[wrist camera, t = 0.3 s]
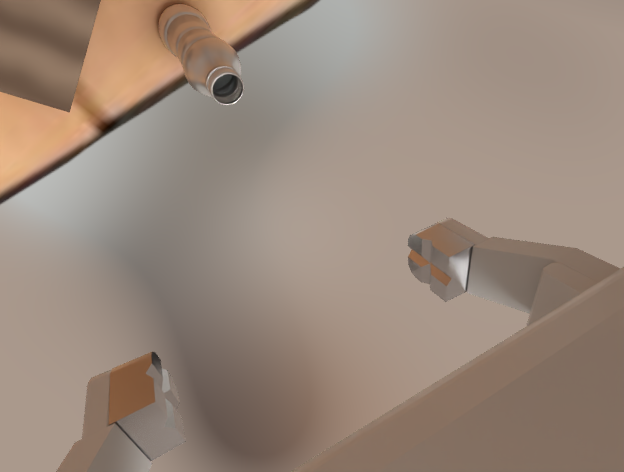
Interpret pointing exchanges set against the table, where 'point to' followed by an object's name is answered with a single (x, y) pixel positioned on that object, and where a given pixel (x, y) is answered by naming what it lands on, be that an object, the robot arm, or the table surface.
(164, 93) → the table surface
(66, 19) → the board
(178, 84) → the table surface
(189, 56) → the plastic bottle
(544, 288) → the robot arm
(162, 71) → the table surface
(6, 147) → the table surface
